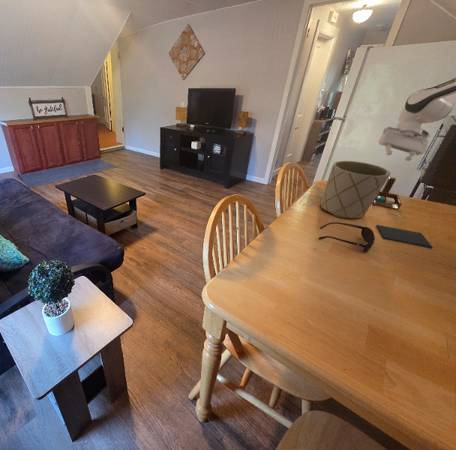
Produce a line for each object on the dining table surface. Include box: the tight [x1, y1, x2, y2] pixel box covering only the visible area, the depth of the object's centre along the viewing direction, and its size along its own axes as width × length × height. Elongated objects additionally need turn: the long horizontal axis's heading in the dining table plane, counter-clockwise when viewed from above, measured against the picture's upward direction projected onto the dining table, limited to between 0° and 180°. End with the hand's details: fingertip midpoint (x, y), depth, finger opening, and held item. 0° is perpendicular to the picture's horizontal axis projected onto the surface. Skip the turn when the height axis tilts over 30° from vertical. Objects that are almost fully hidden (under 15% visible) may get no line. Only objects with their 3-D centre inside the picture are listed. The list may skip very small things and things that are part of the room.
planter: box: [320, 160, 391, 219], centre depth 105 cm, size 19×19×20 cm
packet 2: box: [385, 197, 395, 204], centre depth 116 cm, size 4×3×2 cm
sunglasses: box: [318, 221, 376, 254], centre depth 89 cm, size 14×16×5 cm
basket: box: [371, 176, 402, 211], centre depth 116 cm, size 14×10×10 cm
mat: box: [376, 224, 433, 249], centre depth 93 cm, size 14×10×1 cm
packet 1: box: [375, 195, 385, 202], centre depth 118 cm, size 4×3×2 cm
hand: (398, 157), depth 122 cm, fingers open, 8 cm apart
